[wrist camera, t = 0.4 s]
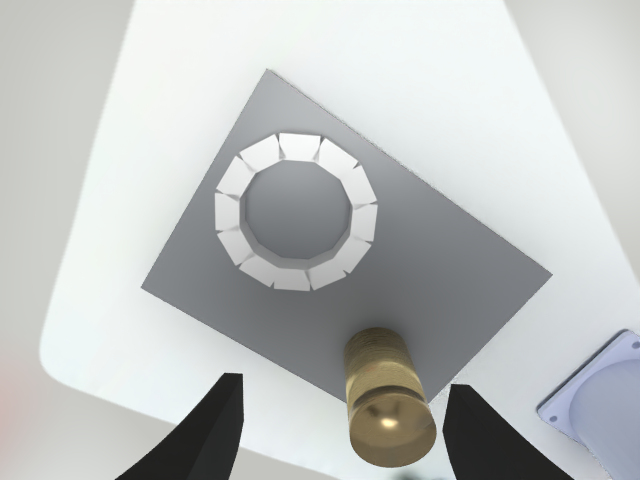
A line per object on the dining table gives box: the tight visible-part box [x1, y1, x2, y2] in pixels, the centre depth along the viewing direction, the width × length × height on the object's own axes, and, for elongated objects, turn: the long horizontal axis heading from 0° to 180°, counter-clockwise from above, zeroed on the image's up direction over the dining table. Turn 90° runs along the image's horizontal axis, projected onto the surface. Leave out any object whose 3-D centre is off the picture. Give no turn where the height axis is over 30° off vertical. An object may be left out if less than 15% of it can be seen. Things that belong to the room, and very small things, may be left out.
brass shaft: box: [343, 327, 437, 468], centre depth 20 cm, size 4×4×6 cm
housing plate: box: [141, 69, 553, 403], centre depth 21 cm, size 19×14×2 cm
